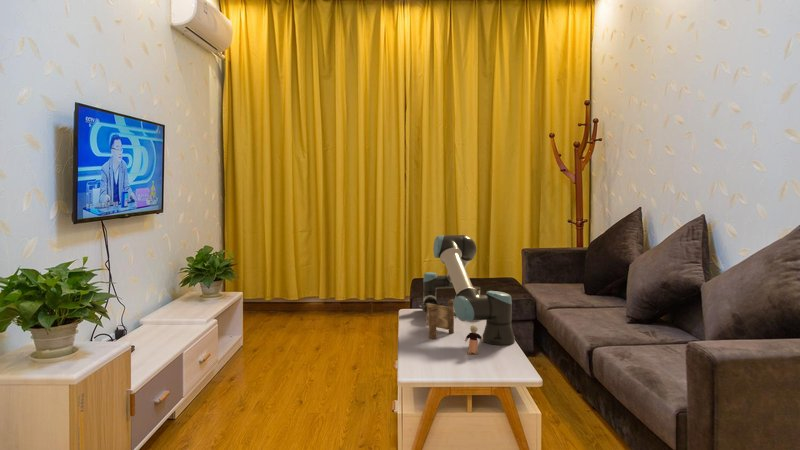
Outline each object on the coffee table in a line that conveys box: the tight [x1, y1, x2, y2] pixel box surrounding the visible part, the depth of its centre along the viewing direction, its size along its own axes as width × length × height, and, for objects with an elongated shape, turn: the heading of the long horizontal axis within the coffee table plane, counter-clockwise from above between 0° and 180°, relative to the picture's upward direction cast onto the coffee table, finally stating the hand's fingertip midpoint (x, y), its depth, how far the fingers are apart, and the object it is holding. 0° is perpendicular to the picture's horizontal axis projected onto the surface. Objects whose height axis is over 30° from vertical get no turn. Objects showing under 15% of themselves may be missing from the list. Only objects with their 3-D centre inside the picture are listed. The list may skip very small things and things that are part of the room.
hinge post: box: [447, 298, 455, 335], centre depth 259 cm, size 3×3×17 cm
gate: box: [425, 303, 449, 331], centre depth 265 cm, size 14×2×11 cm, turn 49°
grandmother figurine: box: [464, 324, 484, 355], centre depth 226 cm, size 8×4×13 cm, turn 89°
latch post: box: [428, 307, 438, 340], centre depth 249 cm, size 3×3×15 cm
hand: (432, 312), depth 272 cm, fingers closed
